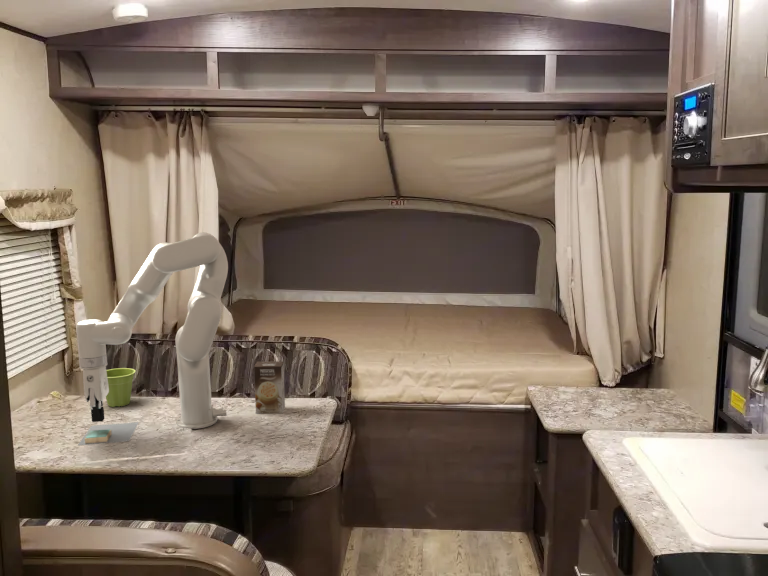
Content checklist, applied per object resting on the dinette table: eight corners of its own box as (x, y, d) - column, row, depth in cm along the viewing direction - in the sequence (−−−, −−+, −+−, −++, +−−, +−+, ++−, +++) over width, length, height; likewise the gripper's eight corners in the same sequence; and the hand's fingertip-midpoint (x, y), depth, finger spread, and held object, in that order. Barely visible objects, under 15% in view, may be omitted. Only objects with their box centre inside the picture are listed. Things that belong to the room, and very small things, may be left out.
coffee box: (254, 414, 214) (252, 366, 212) (258, 407, 221) (256, 361, 218) (283, 413, 214) (281, 366, 212) (285, 407, 221) (283, 360, 218)
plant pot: (124, 410, 220) (122, 378, 218) (93, 408, 222) (90, 376, 221) (144, 399, 231) (142, 368, 229) (114, 397, 234) (112, 366, 232)
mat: (138, 423, 207) (138, 422, 207) (129, 443, 192) (129, 441, 192) (91, 427, 205) (91, 425, 205) (77, 447, 189) (77, 445, 189)
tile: (89, 430, 196) (111, 428, 197) (90, 435, 196) (111, 434, 197) (84, 438, 190) (106, 436, 191) (85, 443, 190) (107, 441, 191)
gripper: (100, 367, 188) (106, 428, 191) (112, 354, 202) (116, 411, 205) (72, 369, 187) (78, 430, 189) (86, 355, 201) (91, 413, 204)
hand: (98, 420), depth 197 cm, fingers closed
